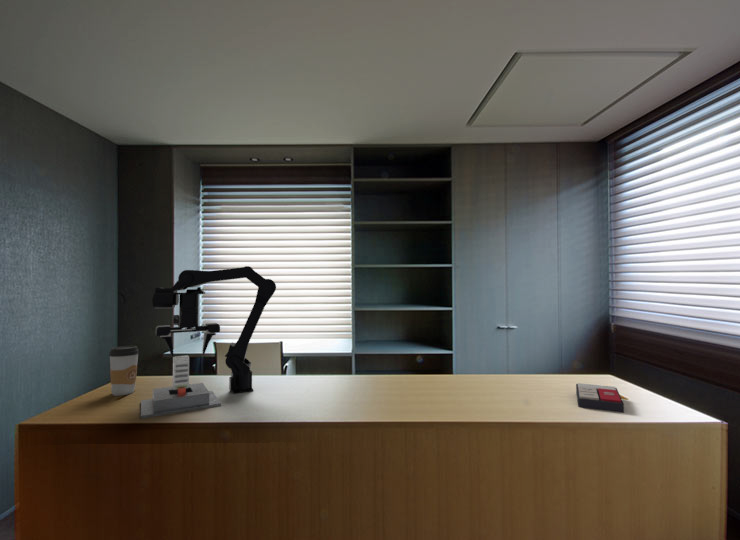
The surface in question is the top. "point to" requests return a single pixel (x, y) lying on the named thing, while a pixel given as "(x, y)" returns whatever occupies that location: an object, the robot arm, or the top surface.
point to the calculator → (599, 397)
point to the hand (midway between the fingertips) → (188, 355)
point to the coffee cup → (123, 369)
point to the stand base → (178, 400)
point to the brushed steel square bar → (180, 372)
